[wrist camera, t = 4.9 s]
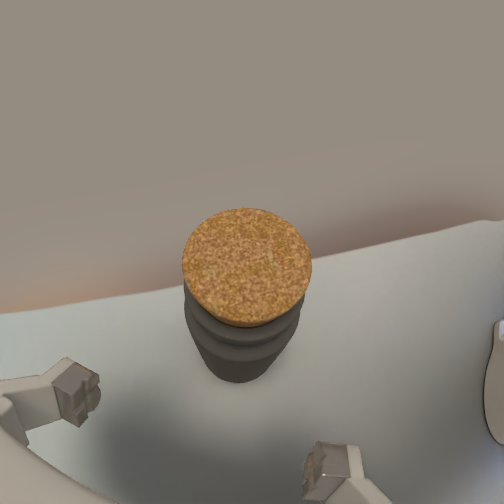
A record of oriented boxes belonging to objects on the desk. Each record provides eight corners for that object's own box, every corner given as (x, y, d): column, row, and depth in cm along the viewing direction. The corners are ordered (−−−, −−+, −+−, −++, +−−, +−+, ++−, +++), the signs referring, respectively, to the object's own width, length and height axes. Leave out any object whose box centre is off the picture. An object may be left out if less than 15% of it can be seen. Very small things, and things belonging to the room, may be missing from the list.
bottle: (202, 316, 25) (173, 196, 12) (270, 314, 25) (313, 197, 12) (202, 383, 22) (159, 338, 9) (275, 381, 22) (339, 333, 9)
